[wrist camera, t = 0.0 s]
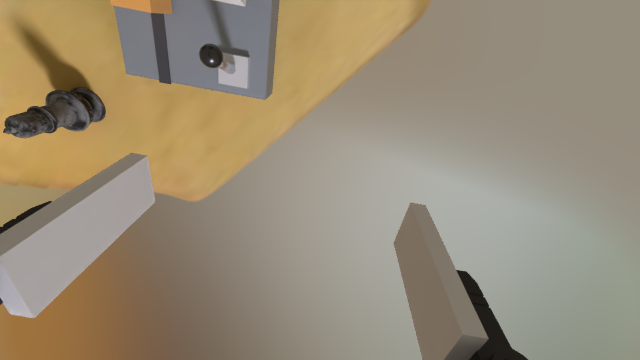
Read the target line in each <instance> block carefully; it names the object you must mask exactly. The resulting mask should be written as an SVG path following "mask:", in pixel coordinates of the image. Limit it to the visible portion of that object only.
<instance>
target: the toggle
mask: <svg viewBox="0 0 640 360" xmlns="http://www.w3.org/2000/svg"><path fill="white" fill-rule="evenodd" d="M199 57H200V60H201V62H202V63H203V64H204V65H205V66H207V67H209V68H217V67H218V68H220V69H221V70H223V71H225V72H226V73H228V74H234V73H235V71H236V69H235V66H234V65H233V64H231V63H230V62H229V61H227V60H226V59H225V58H224V57H223V53H222V51H221V49H220V48H219V47H218V46H216V45H214V44H205V45H203V46H202V47H201V49H200V51H199Z"/></svg>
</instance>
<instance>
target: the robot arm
mask: <svg viewBox="0 0 640 360" xmlns="http://www.w3.org/2000/svg"><path fill="white" fill-rule="evenodd" d="M154 202H155V197H154V191H153V185H152V180H151V174H150V168H149V162H148V157H147V156H146V155H141V154H135V153H131V154H129V155H127V156H126V157H124V158H122V159H121V160H119V161H118V162H116V163H114V164H113V165H111V166H110V167H108V168H106V169H105V170H103V171H101V172H100V173H98V174H97V175H95V176H93V177H92V178H90V179H89V180H87V181H85V182H84V183H82V184H80V185H79V186H77V187H76V188H74V189H72V190H71V191H69V192H68V193H66V194H64V195H63V196H61V197H60V198H58V199H56V200H55V201H53V202H52V201H49V202H46V203H44V204H41V205H38V206H36V207H33V208H31V209H29V210H27V211H26V212H24V213H22V214H21V215H19V216H17V217H16V219H12V220H10V221H9V222H7V223H5V224H4V225H3V227H0V304H2V303H3V304H4V306H5V307H6V309H7V310H8V312H9V313H10V314H13V315H18V316H25V317H31V318H35V317H36V316H37V315H38V314H39V313H40V312H41V311H42V310H43V309H44V308H45V307H46V306H47V305H48V304H50V303H51V302H52V301H53V300H54V299H55V298H56V297H57V296H58V295H59V294H60V293H61V292H62V291H63V290H64V289H65V288H66V287H67V286H68V285H69V284H70V283H71V282H72V281H73V280H74V279H75V278H76V277H78V275H79V274H81V273H82V272H83V271H84V270H85V269H86V268H87V267H88V266H89V265H90V264H91V263H92V262H93V261H94V260H95V259H96V258H97V257H98V256H99V255H100V254H101V253H102V252H103V251H105V249H107V248H108V247H109V246H110V245H111V244H112V243H113V242H114V241H115V240H116V239H117V238H118V237H119V236H120V235H121V234H122V233H123V232H124V231H125V230H126V229H127V228H128V227H129V226H130V225H131V224H133V223H134V222H135V221H136V220H137V219H138V218H139V217H140V216H141V215H142V214H143V213H144V212H145V211H146V210H147V209H148V208H149V207H150V206H151V205H152V204H153V203H154ZM394 246H395V250H396V254H397V258H398V262H399V266H400V270H401V274H402V278H403V282H404V286H405V290H406V294H407V298H408V302H409V306H410V311H411V314H412V319H413V323H414V326H415V331H416V335H417V339H418V343H419V347H420V351H421V354H422V359H423V360H528V359H527V358H526V357H524V356H523V355H522V354H520V353H518V352H517V351H515V350H513V349H512V348H511V346H510V344H509V342H508V341H507V339H506V337H505V335H504V333H503V331H502V329H501V327H500V325H499V323H498V322H497V320H496V318H495V316H494V314H493V312H492V310H491V309H490V308H489V305H488V303H487V301H486V299H485V298H484V297H483V293H482V291H481V290H480V288H479V286H478V284H477V283H476V282H475V280H474V279H473V278H472V277H471V276H470V275H469V274H468V273H467V272H465V271H459V270H456V269H455V267H454V265H453V262H452V260H451V258H450V256H449V254H448V252H447V250H446V248H445V246H444V244H443V241H442V239H441V237H440V235H439V233H438V231H437V229H436V227H435V224H434V222H433V220H432V218H431V216H430V214H429V212H428V210H427V208H426V206H425V205H421V204H415V203H410V205H409V208H408V210H407V212H406V215H405V217H404V220H403V222H402V224H401V227H400V229H399V231H398V234H397V236H396V239H395V241H394Z"/></svg>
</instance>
